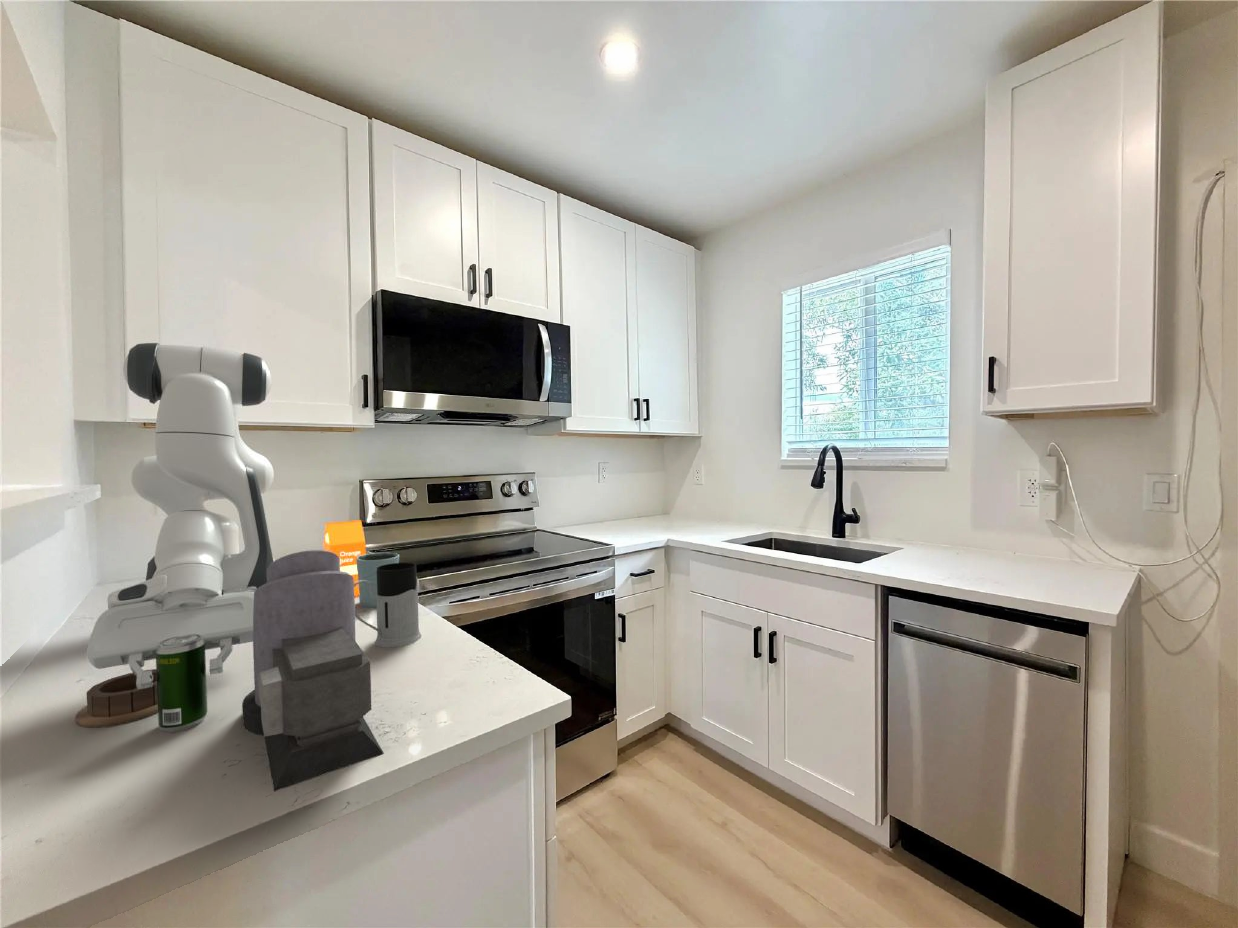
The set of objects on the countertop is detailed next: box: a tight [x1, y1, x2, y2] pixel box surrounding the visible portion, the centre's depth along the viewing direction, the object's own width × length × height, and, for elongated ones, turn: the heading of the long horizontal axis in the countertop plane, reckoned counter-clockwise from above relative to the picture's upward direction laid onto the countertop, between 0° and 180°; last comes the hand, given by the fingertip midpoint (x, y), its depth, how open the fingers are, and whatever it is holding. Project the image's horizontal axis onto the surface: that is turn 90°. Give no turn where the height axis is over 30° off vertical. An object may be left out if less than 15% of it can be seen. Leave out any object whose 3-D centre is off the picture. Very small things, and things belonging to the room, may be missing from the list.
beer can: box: [155, 634, 208, 733], centre depth 74 cm, size 5×5×12 cm
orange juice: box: [323, 519, 367, 597], centre depth 142 cm, size 8×9×20 cm
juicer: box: [241, 549, 385, 792], centre depth 74 cm, size 30×16×24 cm, turn 38°
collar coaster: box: [75, 668, 158, 728], centre depth 80 cm, size 12×12×4 cm
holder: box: [354, 562, 422, 648], centre depth 105 cm, size 9×14×15 cm, turn 146°
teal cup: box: [356, 551, 400, 608], centre depth 134 cm, size 10×10×12 cm
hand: (181, 679), depth 74 cm, fingers open, 6 cm apart
